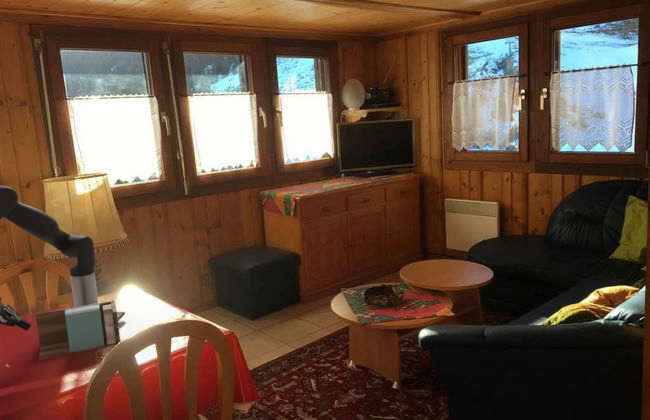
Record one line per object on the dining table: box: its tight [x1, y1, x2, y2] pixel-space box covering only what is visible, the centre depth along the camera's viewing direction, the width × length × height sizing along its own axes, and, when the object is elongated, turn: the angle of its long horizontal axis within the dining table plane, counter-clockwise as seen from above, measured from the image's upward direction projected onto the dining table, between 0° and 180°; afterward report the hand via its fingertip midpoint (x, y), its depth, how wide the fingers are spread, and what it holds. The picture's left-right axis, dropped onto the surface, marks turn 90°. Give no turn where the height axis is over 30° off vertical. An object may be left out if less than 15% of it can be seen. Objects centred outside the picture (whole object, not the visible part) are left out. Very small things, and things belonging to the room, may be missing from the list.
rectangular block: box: [65, 304, 104, 352], centre depth 193 cm, size 4×11×14 cm, turn 114°
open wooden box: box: [35, 299, 121, 361], centre depth 195 cm, size 13×26×14 cm, turn 114°
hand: (29, 327), depth 186 cm, fingers closed
